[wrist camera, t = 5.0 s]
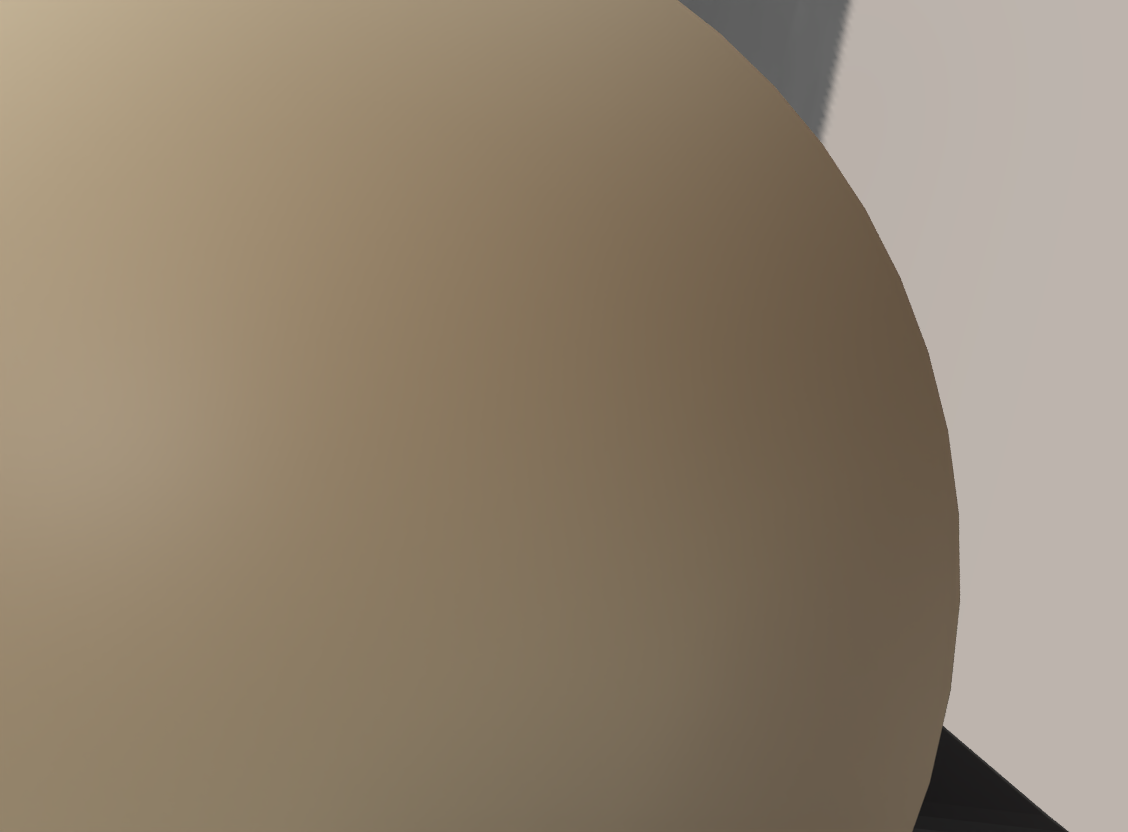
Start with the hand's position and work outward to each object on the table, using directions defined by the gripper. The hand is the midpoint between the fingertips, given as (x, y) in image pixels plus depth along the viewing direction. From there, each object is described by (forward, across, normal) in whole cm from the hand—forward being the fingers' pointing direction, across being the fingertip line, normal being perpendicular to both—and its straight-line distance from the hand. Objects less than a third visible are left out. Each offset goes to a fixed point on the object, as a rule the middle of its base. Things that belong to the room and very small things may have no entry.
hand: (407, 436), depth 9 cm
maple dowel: (+4, 0, +6) cm, 7 cm away
